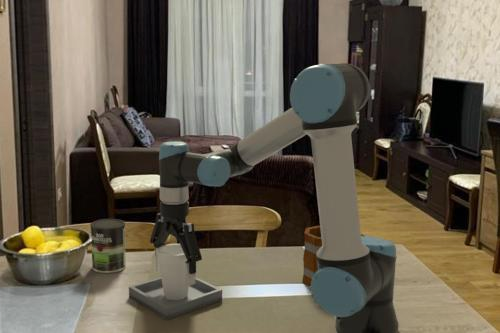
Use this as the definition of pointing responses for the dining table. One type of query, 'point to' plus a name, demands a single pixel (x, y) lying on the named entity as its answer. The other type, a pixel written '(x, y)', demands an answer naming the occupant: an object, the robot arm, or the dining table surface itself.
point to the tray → (155, 300)
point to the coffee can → (108, 245)
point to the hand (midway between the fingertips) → (175, 277)
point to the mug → (311, 252)
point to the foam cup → (173, 271)
